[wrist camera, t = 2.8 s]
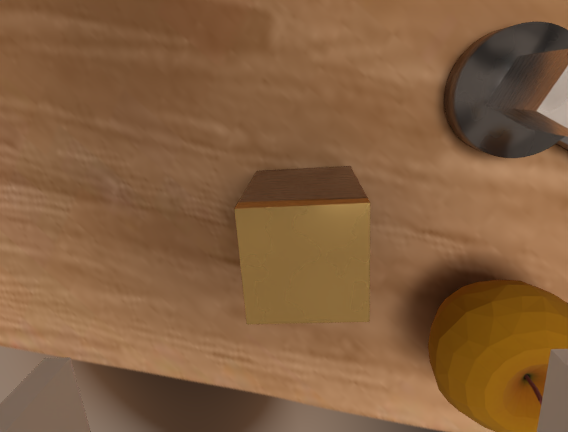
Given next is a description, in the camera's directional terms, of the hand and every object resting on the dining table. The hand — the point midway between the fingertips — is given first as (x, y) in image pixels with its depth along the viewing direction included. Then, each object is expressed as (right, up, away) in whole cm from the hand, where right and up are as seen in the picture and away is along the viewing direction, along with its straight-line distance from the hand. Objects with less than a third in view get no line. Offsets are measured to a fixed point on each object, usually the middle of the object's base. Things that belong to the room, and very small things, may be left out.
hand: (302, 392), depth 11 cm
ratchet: (+18, +10, +13) cm, 24 cm away
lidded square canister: (+1, +5, +15) cm, 16 cm away
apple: (+13, -2, +17) cm, 21 cm away
